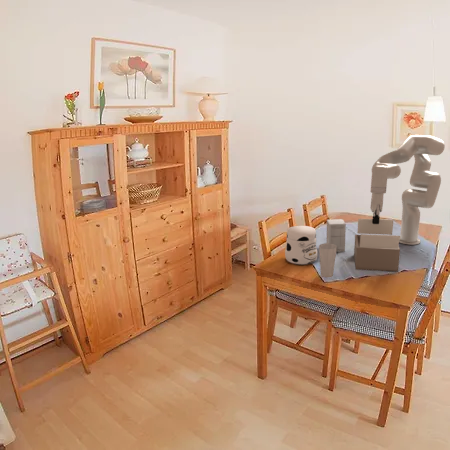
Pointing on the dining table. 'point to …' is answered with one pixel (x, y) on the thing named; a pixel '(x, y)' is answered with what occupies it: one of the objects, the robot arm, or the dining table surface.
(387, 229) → the back flap
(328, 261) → the cup
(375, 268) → the carton
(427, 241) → the dining table surface
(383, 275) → the dining table surface
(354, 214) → the dining table surface
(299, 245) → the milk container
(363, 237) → the front flap
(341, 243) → the small drawer cabinet
